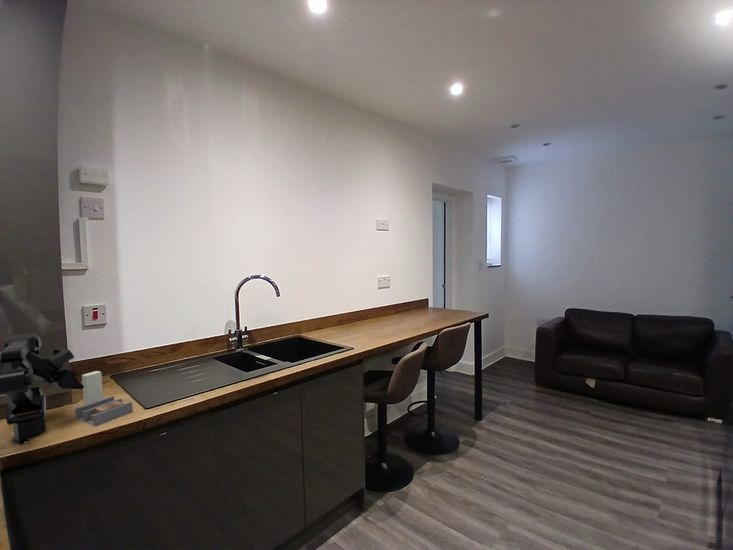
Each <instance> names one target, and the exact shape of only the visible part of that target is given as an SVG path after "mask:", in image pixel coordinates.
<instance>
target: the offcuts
mask: <svg viewBox="0 0 733 550" xmlns="http://www.w3.org/2000/svg"><path fill="white" fill-rule="evenodd" d="M122 404H125V403H124V402H123V401H122V402H118V401H115V402H112V403H109V404H106V405H104V406H101V407H98V408H95V414H98V413H101V412H103V411H106V410H109V409H112V408H114V407H117V406H120V405H122ZM95 414H93V415H95ZM93 415H90V418H91V421H93Z"/></svg>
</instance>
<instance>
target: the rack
mask: <svg viewBox="0 0 733 550" xmlns="http://www.w3.org/2000/svg"><path fill="white" fill-rule="evenodd" d="M115 401H118V402H122V403H123V399H122V398H117V399H115V396H114V395H112V396H108V397H104V398H103V399H102V400H99V401H96V402H93V403H90V404H87V405H85V406H84V405H81V406H78V407H76V408H75V409H74V413H75V419H76V420H78V421H81V422H84V424H88V425H91V426H94V427H97V426H100V425H102V424H105V423H107V422H110V421H112V420H115V419H118V418H121V417H123V416H125V415H128V414H130V413H133V412H134V411H133V401H128V402H126V403H124V404H122V405H120V406H117V407H114V408H112V409H109V410H106V411H103V412H101V413H98V414H95V408H98V407H101V406H104V405H106V404H109V403H112V402H115ZM93 414H95V415H93ZM90 415H93V421H91V418H90Z"/></svg>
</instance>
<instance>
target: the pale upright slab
mask: <svg viewBox="0 0 733 550" xmlns="http://www.w3.org/2000/svg"><path fill="white" fill-rule="evenodd" d="M102 377H103V375H102V372H101V371H99V370H95V371H91V372H88V373H84V374H81V384H82V385H83V386H84V388H83V389H82V394H83V395H82V397H83V406H85V405H87V404H90V403H93V402H96V401H99V400H102V399H104V393H103V392H104V389H103V378H102Z"/></svg>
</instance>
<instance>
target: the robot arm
mask: <svg viewBox="0 0 733 550" xmlns="http://www.w3.org/2000/svg"><path fill="white" fill-rule="evenodd" d="M42 342H43V341H42V340H41V337H40V336H38V335H37V333H35V332H34V333H24V334H19V335H18V334H16V335H10V336H9V337H8V338H7V339H6V340H5V341H4V344H3V347H4V349H2V350H0V371H1V370H2V369H3V368H4V366H5V365H8V364H10V365H11V369H12V371H6V372H0V397H1V398H2V397H6V398H8V400H9V401H8V405H7V406H6V413H5V414H6V415H5V417H6V418H5V419H6V424H8V426H11V425H13V433H14V435H13V437H12V439H11V440H12V441H14V440H15V441H14V442H16V441H17V442H16V443H18V442H19V443H23V444H25V443H24V442H26V441H29V442H30V440H31V439H33V438H36V437H38V436H39V435H41V434H44V433H45V432H46V431H47V428H46V427H47V426H46V425H47V424H46V419H45V417H46V414H47V398H46V394H45V393H44V394H43V391H42V389H41V388H40V387H38V386H36V387H31V386H33V383H34V382H33V379H35V380H37V381H39V382H42V383H47V384H53V386H54V387H56V388H59V389H62V390H83V388H84V386H83V384H82V382H81V381H80V380H78V378H77V375H78V371H77V370H74V369H72V368H69V367H68V368H67V367H66V368H63V367H64V366H63V365H64V364H66V363H67V362H69V361H70V360H73V359H74V358H75V355H74V354H73V353H72V352H71V350H70V349H67V348H61V349H57V348H54V349H51V350H50V356H49V357H48V358H46V357H42V356H41V355H39V354H40V348H41V347H42ZM16 369H19V370H16ZM19 443H18V444H19ZM26 443H27V442H26Z"/></svg>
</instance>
